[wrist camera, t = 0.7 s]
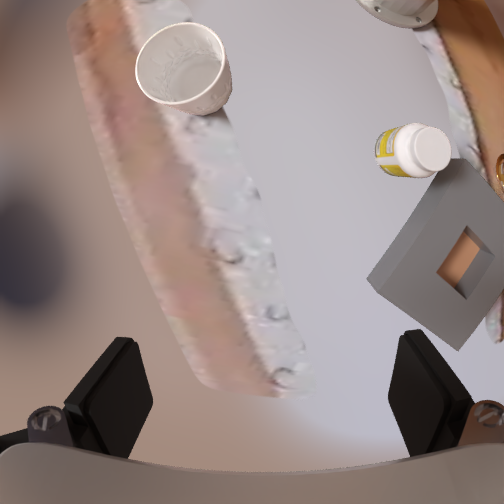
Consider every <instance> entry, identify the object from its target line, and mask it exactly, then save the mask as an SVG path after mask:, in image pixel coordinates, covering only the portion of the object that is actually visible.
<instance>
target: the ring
mask: <svg viewBox="0 0 504 504" xmlns="http://www.w3.org/2000/svg"><path fill="white" fill-rule="evenodd" d="M503 162H504V154H501V155H500V156H499V157H498V159H497V163H496V173H497V175H496V179H497V181H498V182H499V185H500V187H501V190H502V191H503V193H504V174H503V171H502V166H503Z"/></svg>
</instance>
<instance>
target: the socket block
mask: <svg viewBox="0 0 504 504" xmlns="http://www.w3.org/2000/svg"><path fill="white" fill-rule="evenodd" d="M367 280H368V282H369V283H370V284H371V285H372V287H373V288H374V289H375V290H376V292H377V293H379V294H380V295H381V296H383V297H384V298H386V299H387V300H388V301H390V302H391V303H393V304H394V305H395V306H397V307H398V308H400V309H401V310H402V311H404V312H405V313H407V314H408V315H409V316H411V317H412V318H413V319H415V320H416V321H418V322H419V323H420V324H422V325H423V326H425V327H426V328H427V329H429V330H430V331H431V332H432V333H434V334H435V335H437V336H438V337H439V338H441V339H442V340H443V341H445V342H446V343H447V344H449V345H450V346H451V347H453V348H454V349H455V350H457V351H459V349H460V348H461V347H462V346H463V344H464V343H465V342H466V341H467V339H468V338H469V337H470V336H471V334H472V333H473V332H474V330H475V329H476V328H477V326H478V325H479V324H480V322H481V321H482V319H483V318H484V317H485V315H486V314H487V313H488V311H489V310H490V308H491V307H492V305H493V304H494V302H495V301H496V299H497V298H498V296H499V295H500V293H501V292H502V290H503V289H504V202H503V201H502V200H501V199H500V197H499V196H498V195H497V194H496V193H495V191H494V190H493V189H492V188H491V187H490V186H489V184H488V183H487V182H486V181H485V180H484V179H483V178H482V176H481V175H480V174H479V173H478V172H477V171H476V170H475V169H474V168H473V167H472V165H471V164H470V163H469V162H468V161H467V160H466V159H450V162H449V163H448V165H447V166H446V167H445V168H444V169H442V170H440V171H438V173H437V175H436V176H435V178H434V179H433V181H432V183H431V184H430V186H429V188H428V189H427V191H426V193H425V194H424V196H423V197H422V199H421V201H420V202H419V203H418V205H417V207H416V208H415V210H414V211H413V213H412V214H411V216H410V217H409V219H408V221H407V222H406V223H405V225H404V226H403V228H402V229H401V231H400V232H399V234H398V235H397V237H396V238H395V240H394V241H393V242H392V244H391V245H390V247H389V248H388V250H387V251H386V252H385V254H384V255H383V257H382V258H381V260H380V261H379V262H378V264H377V265H376V266H375V268H374V269H373V271H372V272H371V273H370V274H369V276H368V277H367Z"/></svg>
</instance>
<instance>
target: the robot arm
mask: <svg viewBox="0 0 504 504" xmlns="http://www.w3.org/2000/svg"><path fill="white" fill-rule="evenodd" d="M356 1H357V2H358V3H359V5H360V6H362V7H363V8H364V9H365V10H366V11H367V12H369V13H370V14H372V15H373V16H374V17H376V18H378V19H380V20H381V21H384V22H386V23H388V24H391V25H393V26H397V27H401V28H419V27H422V26H425V25H426V24H428V23H429V22H431V21H432V20H433V19H434V17H435V16H436V14H437V11H438V0H356ZM388 400H389V404H390V407H391V409H392V411H393V414H394V416H395V419H396V421H397V424H398V426H399V428H400V431H401V434H402V436H403V439H404V441H405V444H406V447H407V449H408V452H409V455H410V457H409V458H404V459H398V460H393V461H387V462H381V463H375V464H369V465H362V466H355V467H346V468H337V469H328V470H315V471H296V472H233V471H215V470H202V469H192V468H183V467H175V466H167V465H160V464H154V463H147V462H142V461H136V460H131V459H128V457H129V455H130V453H131V451H132V449H133V446H134V444H135V442H136V440H137V438H138V436H139V433H140V431H141V429H142V427H143V425H144V423H145V421H146V418H147V416H148V414H149V412H150V410H151V408H152V405H153V397H152V394H151V390H150V387H149V383H148V380H147V376H146V373H145V369H144V365H143V362H142V358H141V354H140V350H139V346H138V344H137V342H134V340H133V339H132V338H127V337H116V338H115V339H114V341H113V342H112V343H111V344H110V345H109V347H108V348H107V349H106V350H105V352H104V353H103V354H102V355H101V356H100V358H99V359H98V360H97V361H96V362H95V364H94V365H93V366H92V367H91V369H90V370H89V371H88V372H87V373H86V375H85V376H84V377H83V378H82V380H81V381H80V382H79V383H78V385H77V386H76V387H75V388H74V390H73V391H72V392H71V394H70V395H69V396H68V397H67V399H66V400H65V401H64V404H65V407H64V408H63V409H60V408H59V407H56V406H44V407H41V408H39V409H37V410H35V411H34V412H33V413H32V414H31V415H30V416H29V418H28V421H27V428H26V429H23V430H20V431H16V432H13V433H9V434H6V435H2V436H0V504H504V406H503V405H502V404H500V403H499V402H496V401H492V400H482V401H479V402H477V403H474V401H473V399H472V398H471V395H470V394H469V393H468V391H467V390H466V388H465V387H464V385H463V384H462V383H461V381H460V380H459V378H458V377H457V376H456V374H455V373H454V372H453V370H452V369H451V368H450V366H449V365H448V364H447V362H446V361H445V360H444V358H443V357H442V356H441V354H440V353H439V352H438V350H437V349H436V348H435V346H434V345H433V344H432V343H431V341H430V340H429V339H428V337H427V336H426V335H425V334H424V332H423V331H422V330H421V329H417V330H408V331H405V333H404V335H401V336H400V338H399V343H398V349H397V354H396V359H395V364H394V370H393V374H392V380H391V383H390V388H389V392H388Z"/></svg>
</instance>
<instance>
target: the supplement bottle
mask: <svg viewBox="0 0 504 504" xmlns="http://www.w3.org/2000/svg"><path fill="white" fill-rule="evenodd" d="M374 156H375V160H376V162H377V164H378V166H379V167H380V168H381V169H382V170H383V171H384V172H385V173H387V174H389V175H392V176H398V177H399V176H401V177H413V178H425V177H429V176H431V175H432V174H434V173H435V172H436V171H440V170H442V169H444V168H445V167H446V166H447V165H448V163H449V162H450V159H451V145H450V142H449V139H448V138H447V136H446V135H445V134H444V133H443V132H442V131H441V130H439V129H438V128H434V127H429V126H427V125H424V124H421V123H411V124H407V125H404V126H401V127H397V128H394V129H391V130H388V131H386V132H384V133H382V134H381V135H380V136H379V137H378V139H377V140H376V143H375V146H374Z"/></svg>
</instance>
